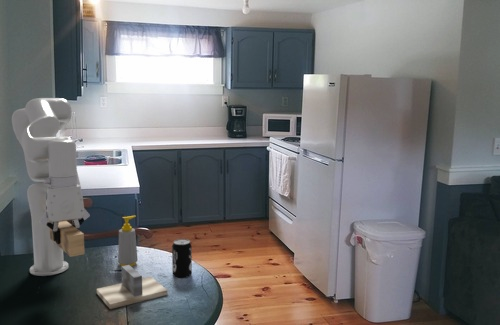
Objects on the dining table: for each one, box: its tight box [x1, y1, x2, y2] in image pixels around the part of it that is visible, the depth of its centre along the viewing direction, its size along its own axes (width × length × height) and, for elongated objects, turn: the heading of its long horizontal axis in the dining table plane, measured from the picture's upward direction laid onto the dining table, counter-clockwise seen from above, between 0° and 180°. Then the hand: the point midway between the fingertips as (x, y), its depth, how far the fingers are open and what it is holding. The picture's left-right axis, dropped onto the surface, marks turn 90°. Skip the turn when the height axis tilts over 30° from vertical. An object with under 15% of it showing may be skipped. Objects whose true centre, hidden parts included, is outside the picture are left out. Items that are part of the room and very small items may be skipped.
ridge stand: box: [96, 265, 168, 310], centre depth 143 cm, size 13×18×8 cm
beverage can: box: [171, 238, 193, 279], centre depth 159 cm, size 7×7×12 cm
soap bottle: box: [117, 215, 138, 267], centre depth 168 cm, size 7×7×18 cm
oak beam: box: [49, 221, 85, 258], centre depth 138 cm, size 20×4×6 cm, turn 38°
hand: (66, 240), depth 138 cm, fingers closed on oak beam, 4 cm apart
